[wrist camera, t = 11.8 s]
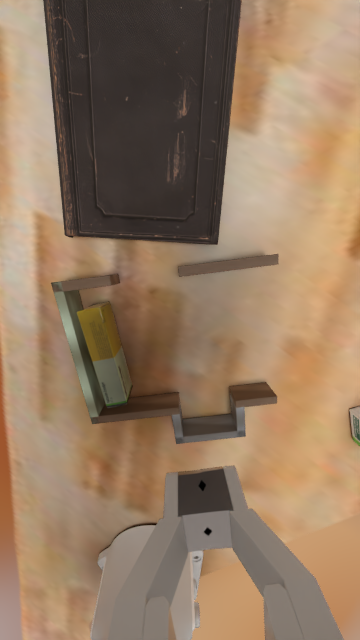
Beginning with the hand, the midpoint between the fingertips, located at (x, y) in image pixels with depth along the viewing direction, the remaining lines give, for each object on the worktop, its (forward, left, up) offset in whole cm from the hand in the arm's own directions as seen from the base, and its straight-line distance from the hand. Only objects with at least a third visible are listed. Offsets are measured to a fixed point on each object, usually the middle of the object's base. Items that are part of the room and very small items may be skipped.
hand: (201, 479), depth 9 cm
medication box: (0, +9, -17) cm, 20 cm away
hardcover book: (+24, +1, -18) cm, 29 cm away
